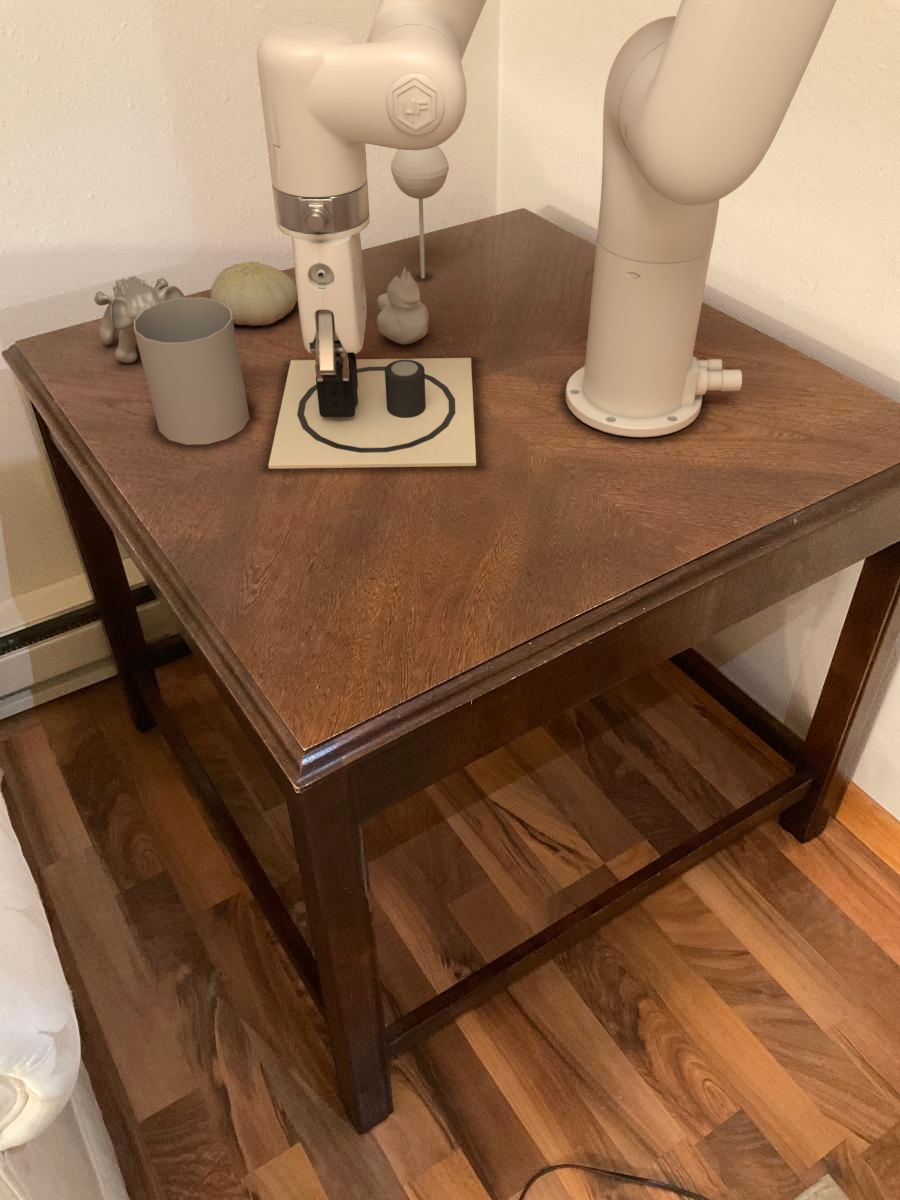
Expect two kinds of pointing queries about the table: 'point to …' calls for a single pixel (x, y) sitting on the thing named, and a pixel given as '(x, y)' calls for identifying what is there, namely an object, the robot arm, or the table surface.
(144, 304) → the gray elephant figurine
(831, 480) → the table surface
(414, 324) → the rubber duck
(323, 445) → the board
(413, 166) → the lollipop
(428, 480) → the table surface
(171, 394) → the cup
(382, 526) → the table surface
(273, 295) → the sea urchin shell
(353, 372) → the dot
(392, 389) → the black cylinder
